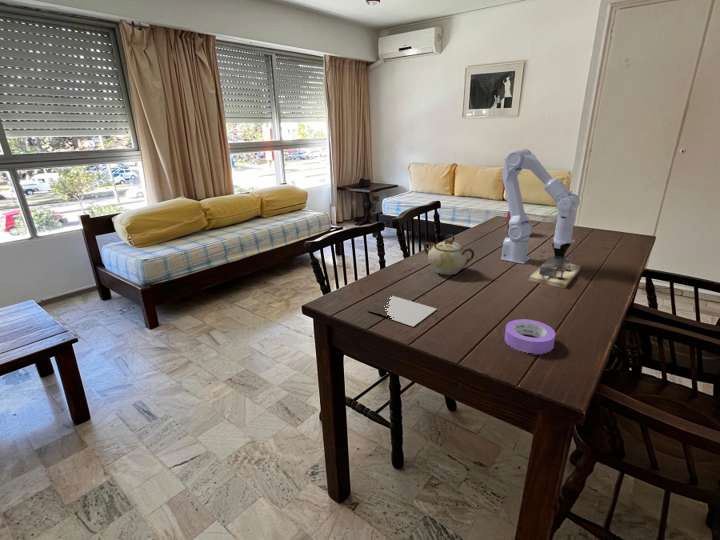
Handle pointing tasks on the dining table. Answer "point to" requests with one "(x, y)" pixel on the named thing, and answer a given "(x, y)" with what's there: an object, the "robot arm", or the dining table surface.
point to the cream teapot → (448, 256)
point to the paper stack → (407, 311)
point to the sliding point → (558, 261)
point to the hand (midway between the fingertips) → (558, 261)
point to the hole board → (554, 279)
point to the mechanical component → (508, 219)
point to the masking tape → (528, 343)
